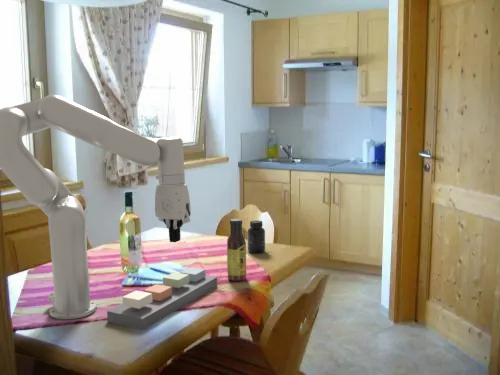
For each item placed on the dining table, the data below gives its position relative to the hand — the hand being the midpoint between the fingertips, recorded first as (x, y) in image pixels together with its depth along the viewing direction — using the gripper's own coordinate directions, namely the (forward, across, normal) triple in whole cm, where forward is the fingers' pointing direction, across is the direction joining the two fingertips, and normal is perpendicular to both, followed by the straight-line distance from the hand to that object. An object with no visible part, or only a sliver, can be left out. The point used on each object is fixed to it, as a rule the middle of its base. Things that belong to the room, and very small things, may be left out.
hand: (175, 241), depth 161 cm
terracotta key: (+14, 0, -9) cm, 17 cm away
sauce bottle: (+18, +7, +23) cm, 30 cm away
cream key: (+13, 0, -18) cm, 22 cm away
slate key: (+14, -1, +9) cm, 17 cm away
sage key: (+13, 0, 0) cm, 13 cm away
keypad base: (+17, 0, -5) cm, 18 cm away
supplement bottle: (+18, -2, +55) cm, 58 cm away
